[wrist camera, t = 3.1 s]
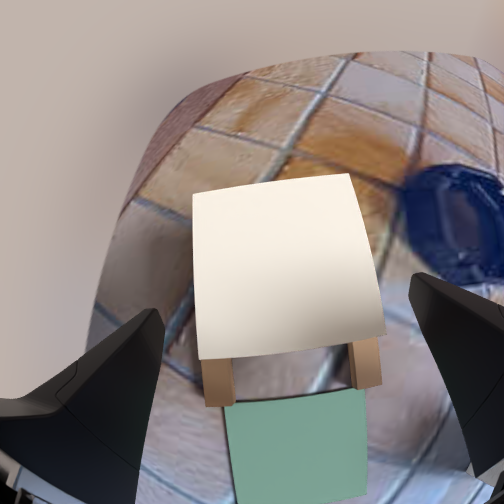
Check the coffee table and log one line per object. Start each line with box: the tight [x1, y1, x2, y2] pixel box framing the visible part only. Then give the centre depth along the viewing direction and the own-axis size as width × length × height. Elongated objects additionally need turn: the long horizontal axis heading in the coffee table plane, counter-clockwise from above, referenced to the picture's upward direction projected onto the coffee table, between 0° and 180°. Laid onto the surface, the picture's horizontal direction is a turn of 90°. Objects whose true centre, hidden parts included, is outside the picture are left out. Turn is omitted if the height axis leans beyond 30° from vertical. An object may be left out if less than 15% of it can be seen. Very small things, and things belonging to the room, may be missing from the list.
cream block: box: [193, 173, 387, 360], centre depth 13 cm, size 6×6×10 cm
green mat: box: [224, 388, 367, 504], centre depth 14 cm, size 9×9×1 cm
